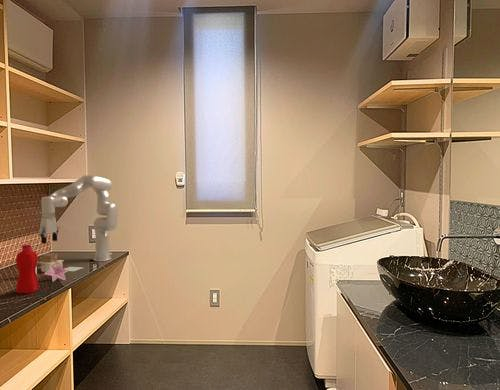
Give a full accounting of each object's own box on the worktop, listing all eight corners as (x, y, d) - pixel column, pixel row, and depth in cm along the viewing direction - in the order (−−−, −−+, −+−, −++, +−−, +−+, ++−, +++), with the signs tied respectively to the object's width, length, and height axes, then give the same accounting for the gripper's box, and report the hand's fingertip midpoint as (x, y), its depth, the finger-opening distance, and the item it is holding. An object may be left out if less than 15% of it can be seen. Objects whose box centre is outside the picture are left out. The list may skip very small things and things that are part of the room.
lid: (48, 260, 264) (48, 252, 264) (63, 261, 261) (63, 253, 261) (34, 264, 252) (34, 255, 252) (50, 264, 249) (50, 256, 249)
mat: (69, 268, 267) (69, 266, 267) (84, 269, 265) (84, 267, 265) (58, 271, 256) (58, 270, 256) (73, 272, 254) (73, 271, 254)
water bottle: (42, 288, 217) (41, 242, 216) (32, 294, 206) (31, 246, 205) (25, 288, 217) (24, 243, 216) (13, 294, 206) (12, 246, 205)
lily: (41, 283, 232) (44, 270, 228) (47, 271, 242) (51, 259, 239) (62, 288, 235) (66, 275, 232) (68, 276, 245) (71, 264, 242)
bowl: (48, 269, 262) (48, 260, 262) (60, 270, 260) (60, 261, 260) (38, 273, 253) (38, 263, 253) (50, 273, 251) (50, 264, 251)
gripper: (53, 214, 265) (54, 239, 266) (33, 217, 248) (34, 244, 249) (62, 214, 263) (63, 240, 264) (43, 217, 246) (44, 244, 247)
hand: (49, 242), depth 257 cm, fingers open, 9 cm apart
